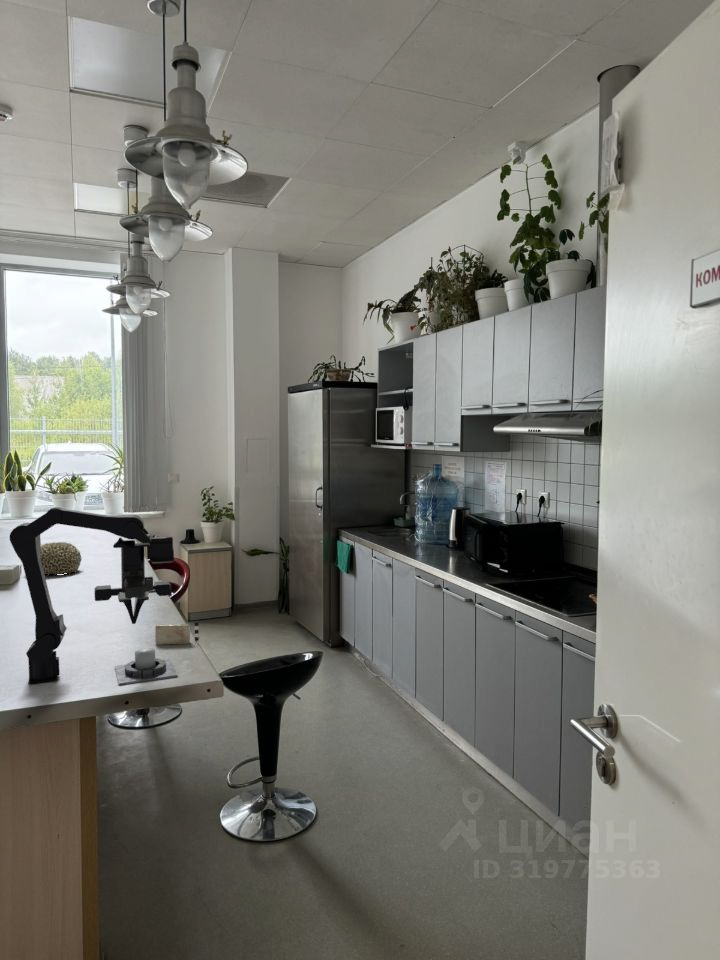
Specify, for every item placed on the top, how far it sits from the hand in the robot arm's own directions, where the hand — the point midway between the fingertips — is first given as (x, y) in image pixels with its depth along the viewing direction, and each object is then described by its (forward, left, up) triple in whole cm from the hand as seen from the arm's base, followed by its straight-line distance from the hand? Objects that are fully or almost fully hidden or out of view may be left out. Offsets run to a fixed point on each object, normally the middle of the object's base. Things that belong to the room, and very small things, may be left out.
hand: (133, 623), depth 173 cm
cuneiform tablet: (+14, +19, -13) cm, 27 cm away
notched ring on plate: (+2, -3, -12) cm, 13 cm away
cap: (+2, -3, -12) cm, 12 cm away
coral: (-21, +151, -13) cm, 153 cm away
